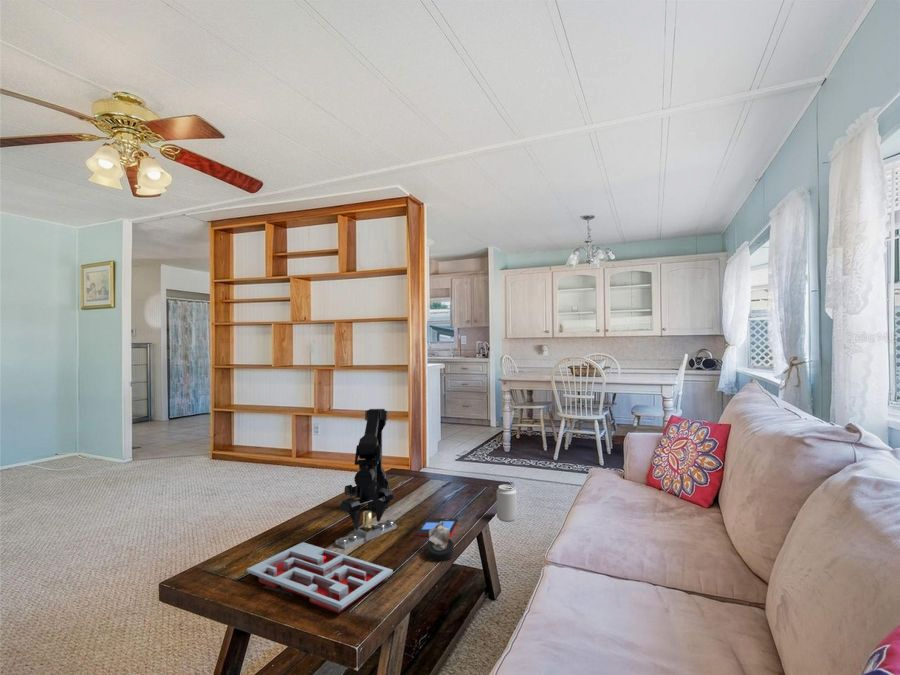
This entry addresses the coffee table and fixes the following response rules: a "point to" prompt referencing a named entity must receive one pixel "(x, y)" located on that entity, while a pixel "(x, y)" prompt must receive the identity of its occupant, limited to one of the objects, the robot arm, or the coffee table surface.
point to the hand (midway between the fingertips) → (367, 525)
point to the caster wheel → (439, 543)
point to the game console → (432, 522)
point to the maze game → (320, 575)
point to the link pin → (367, 520)
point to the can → (506, 503)
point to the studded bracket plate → (365, 534)
